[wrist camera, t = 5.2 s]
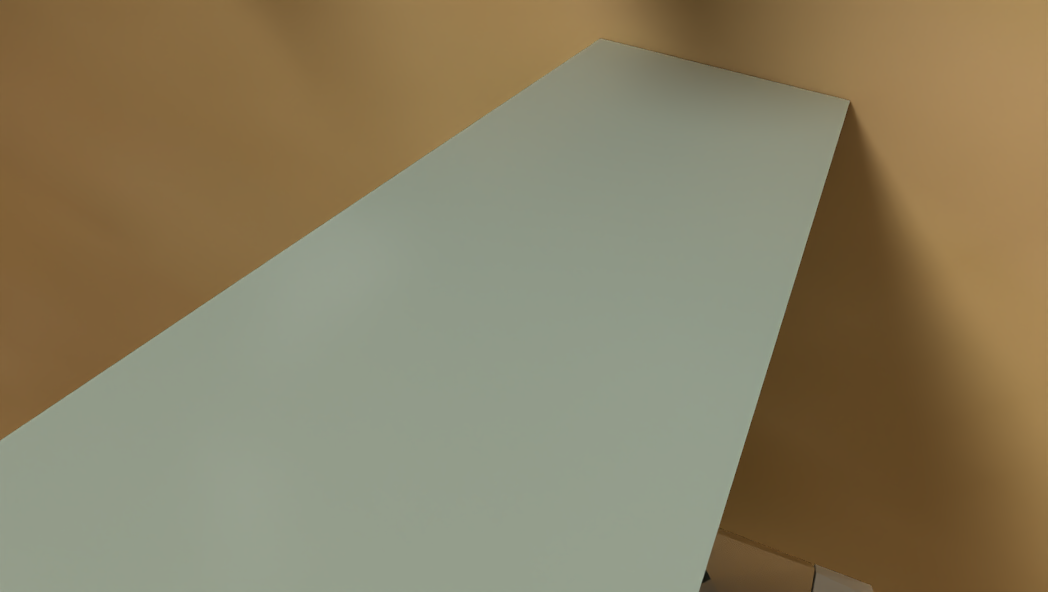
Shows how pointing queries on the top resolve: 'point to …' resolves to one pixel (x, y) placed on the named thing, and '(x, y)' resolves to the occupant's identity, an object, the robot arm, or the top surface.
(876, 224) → the top surface
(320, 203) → the top surface
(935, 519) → the top surface
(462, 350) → the pale green rectangular block
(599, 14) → the top surface
